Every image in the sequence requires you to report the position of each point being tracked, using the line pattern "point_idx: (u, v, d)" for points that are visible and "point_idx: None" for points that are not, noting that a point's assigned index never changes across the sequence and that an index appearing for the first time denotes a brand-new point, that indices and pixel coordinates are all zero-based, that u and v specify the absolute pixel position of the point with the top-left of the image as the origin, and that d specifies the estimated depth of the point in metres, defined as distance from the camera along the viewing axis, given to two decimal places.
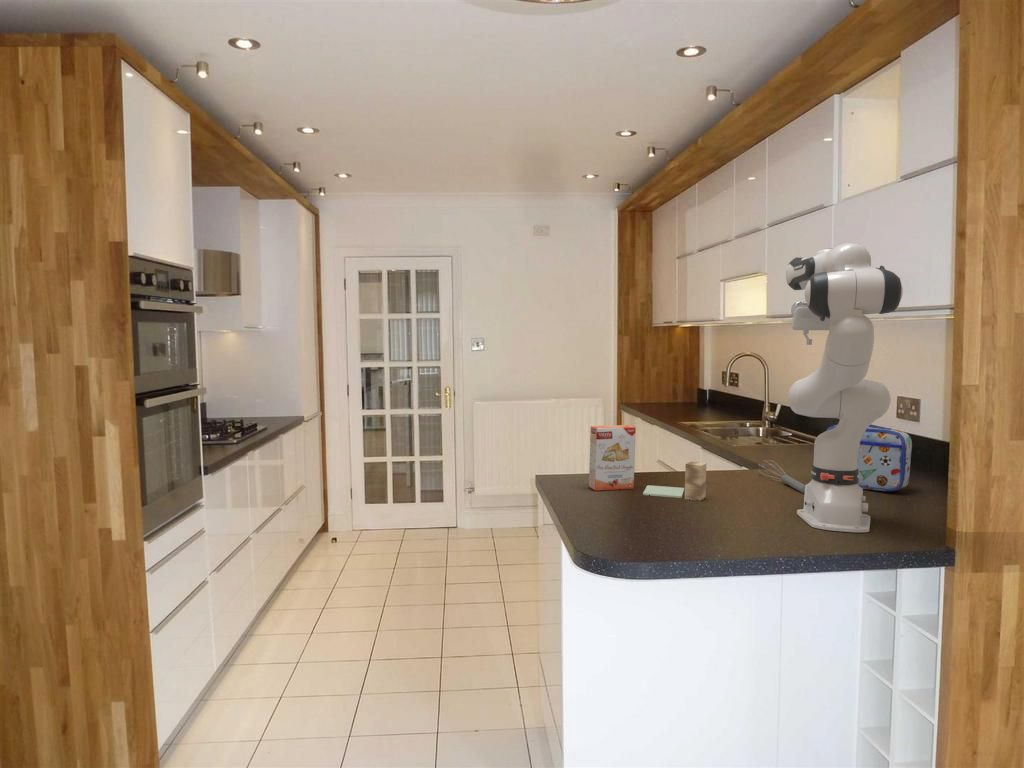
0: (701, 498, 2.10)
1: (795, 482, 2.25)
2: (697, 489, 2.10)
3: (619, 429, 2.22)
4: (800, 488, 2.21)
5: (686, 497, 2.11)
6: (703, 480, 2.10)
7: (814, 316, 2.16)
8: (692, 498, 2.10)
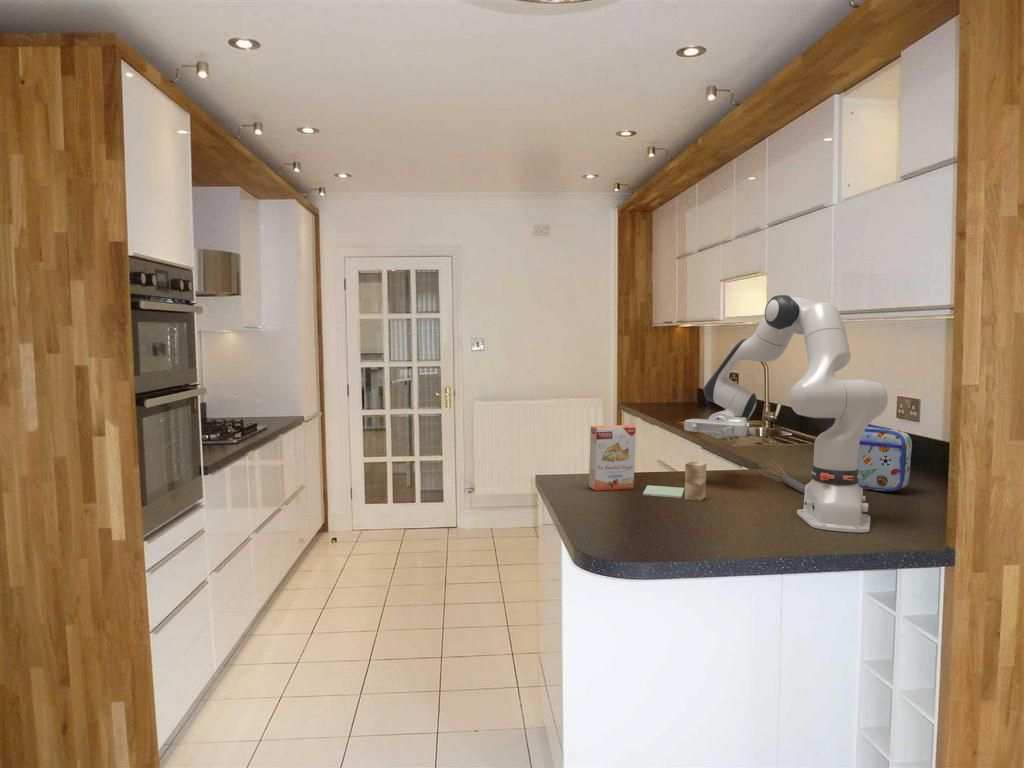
0: (701, 498, 2.10)
1: (795, 482, 2.25)
2: (697, 489, 2.10)
3: (619, 429, 2.22)
4: (800, 488, 2.21)
5: (686, 497, 2.11)
6: (703, 479, 2.10)
7: (706, 421, 2.31)
8: (692, 498, 2.10)
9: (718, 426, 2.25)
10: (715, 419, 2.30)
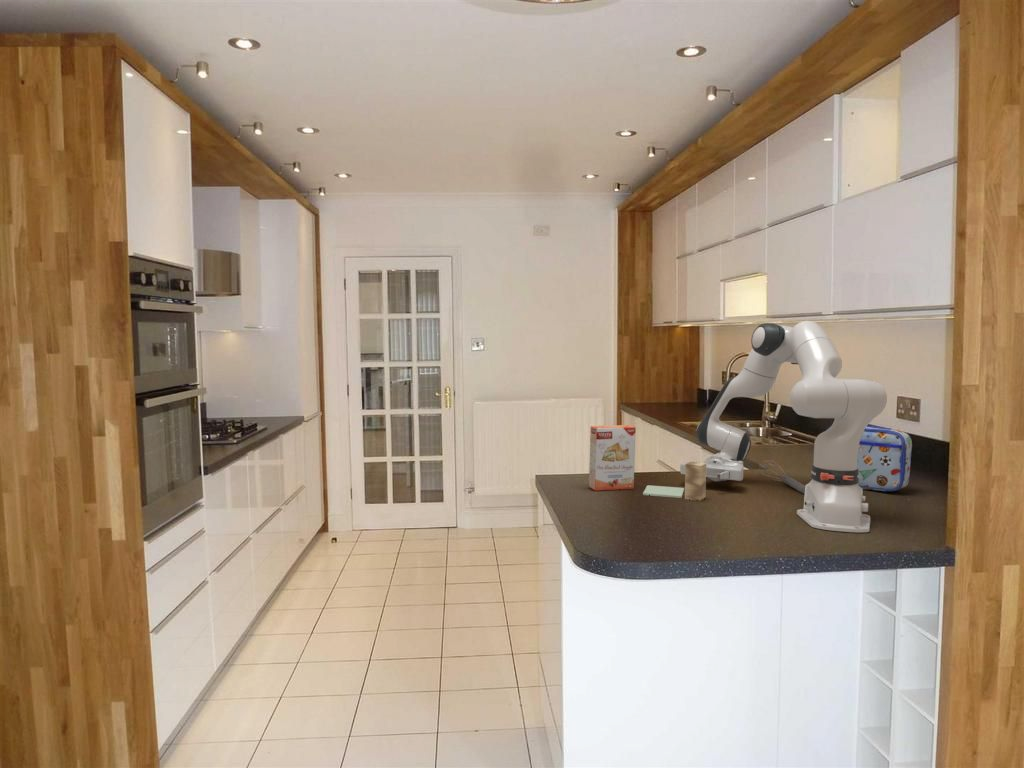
0: (701, 498, 2.10)
1: (795, 482, 2.25)
2: (697, 489, 2.10)
3: (619, 429, 2.22)
4: (800, 488, 2.21)
5: (686, 497, 2.11)
6: (703, 480, 2.10)
7: None
8: (692, 498, 2.10)
9: (714, 470, 2.23)
10: (711, 462, 2.29)
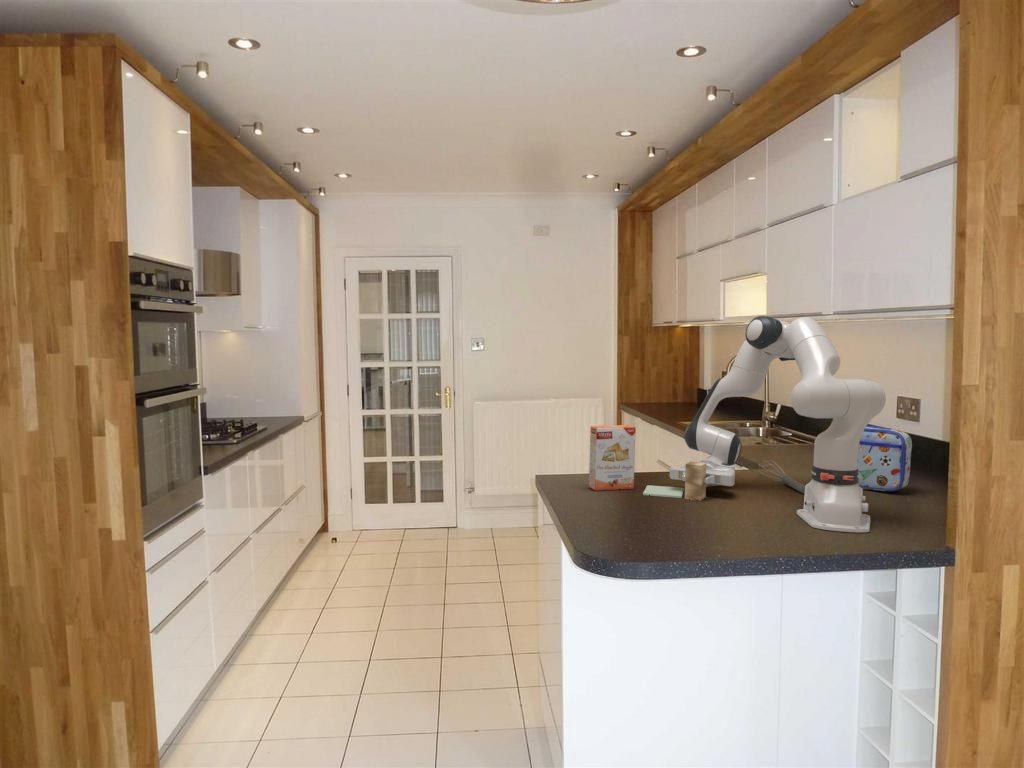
0: (701, 498, 2.10)
1: (794, 482, 2.25)
2: (697, 489, 2.10)
3: (619, 429, 2.22)
4: (799, 488, 2.21)
5: (686, 497, 2.11)
6: None
7: None
8: (692, 498, 2.10)
9: None
10: None
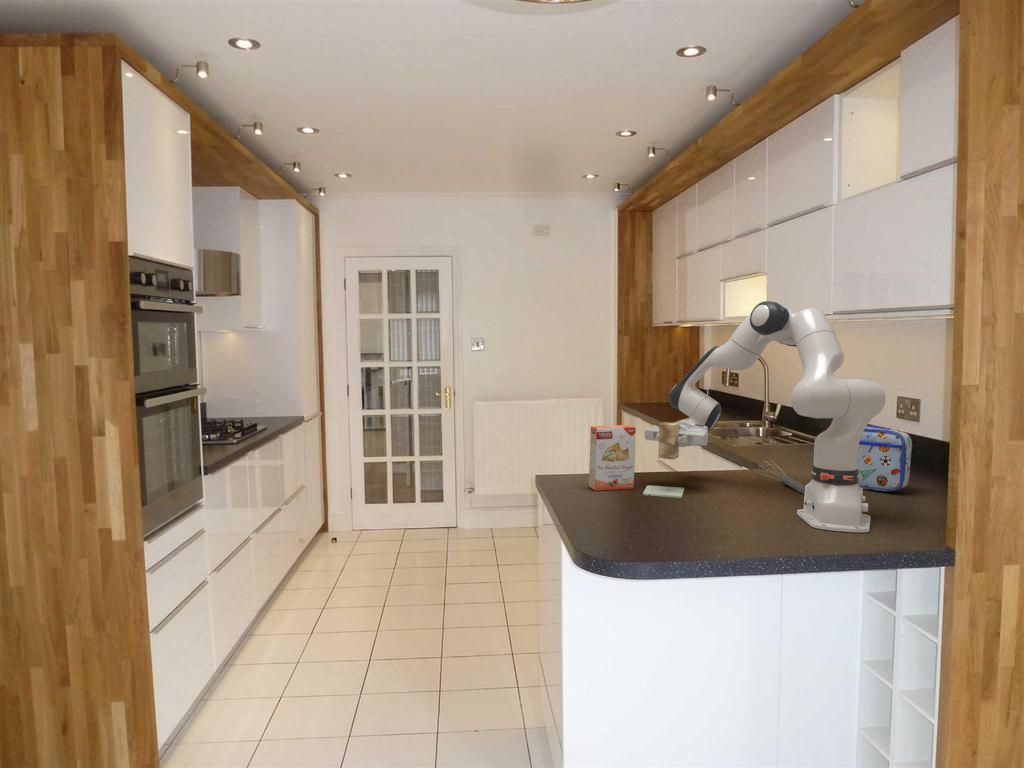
0: (674, 457, 2.17)
1: (794, 482, 2.25)
2: (669, 448, 2.16)
3: (619, 429, 2.22)
4: (799, 488, 2.20)
5: (659, 456, 2.18)
6: (675, 439, 2.17)
7: None
8: (665, 457, 2.17)
9: None
10: None
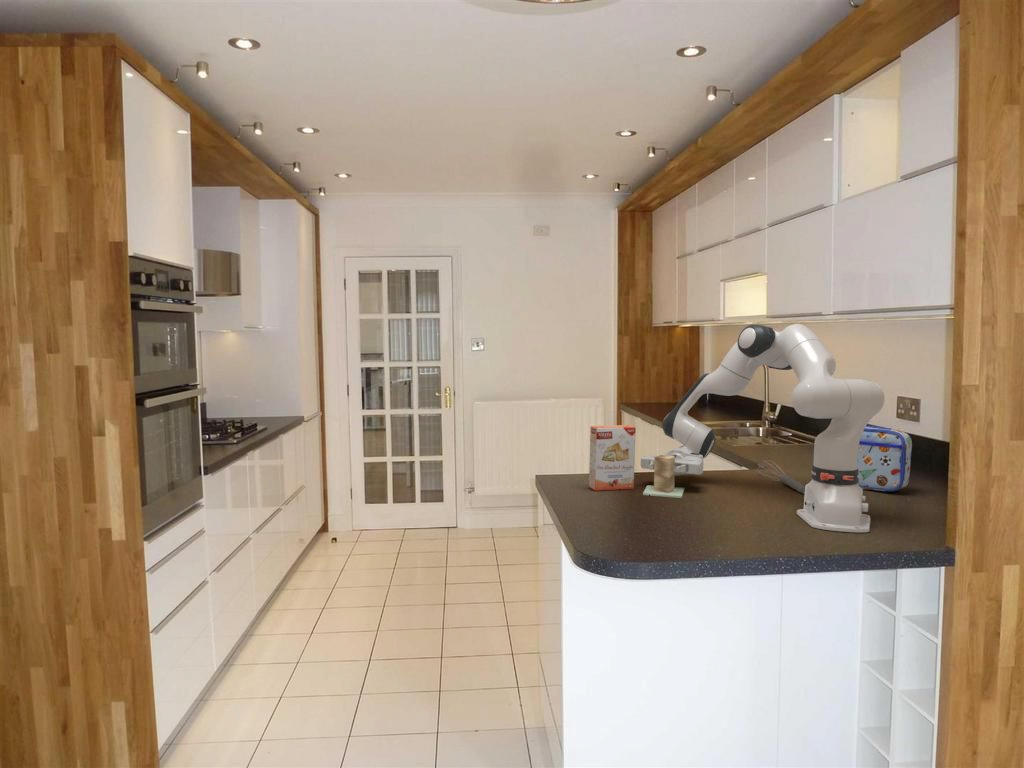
0: (669, 490, 2.18)
1: (794, 482, 2.25)
2: (665, 482, 2.17)
3: (619, 429, 2.22)
4: (799, 488, 2.20)
5: (655, 489, 2.19)
6: (671, 472, 2.18)
7: None
8: (661, 490, 2.18)
9: None
10: None
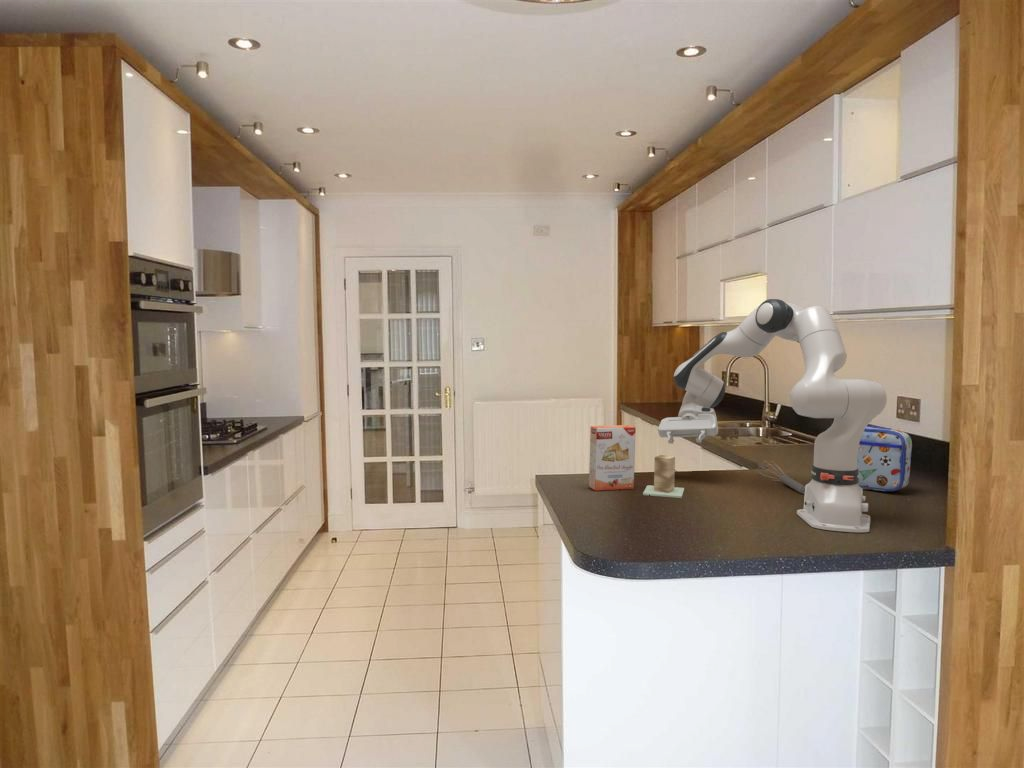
0: (669, 490, 2.18)
1: (794, 482, 2.25)
2: (665, 482, 2.17)
3: (619, 429, 2.22)
4: (798, 488, 2.20)
5: (655, 489, 2.19)
6: (671, 472, 2.18)
7: (677, 422, 2.38)
8: (661, 490, 2.18)
9: (691, 430, 2.33)
10: (685, 417, 2.37)
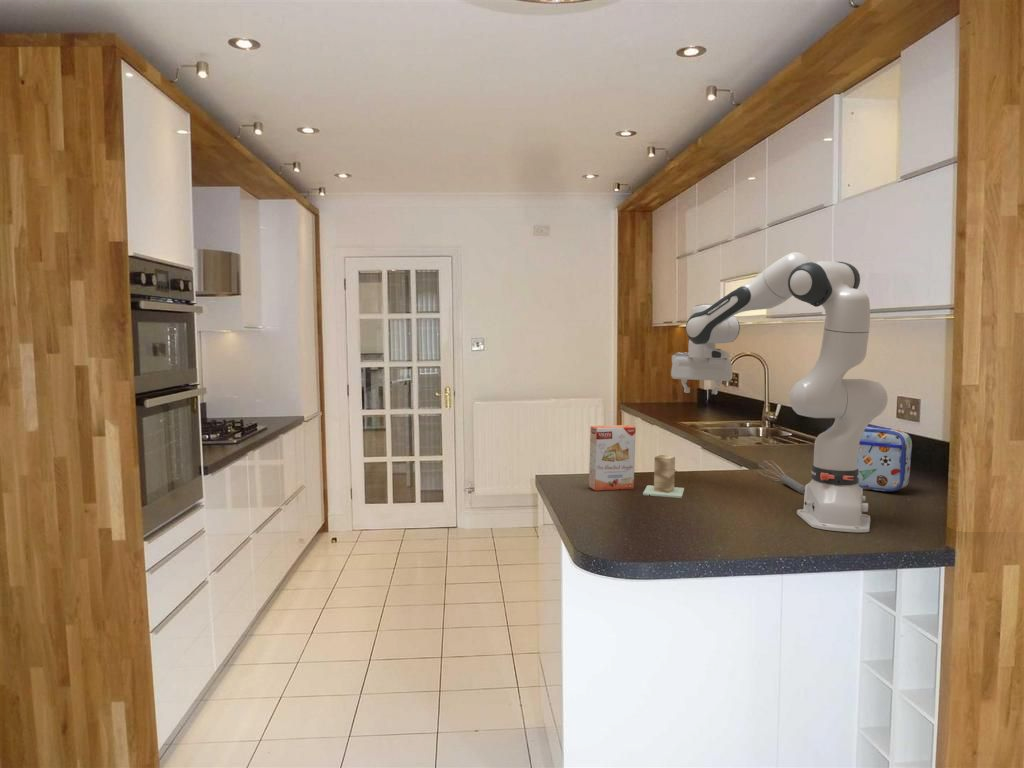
0: (669, 490, 2.18)
1: (793, 482, 2.24)
2: (665, 482, 2.17)
3: (619, 429, 2.22)
4: (798, 488, 2.20)
5: (655, 489, 2.19)
6: (671, 472, 2.18)
7: (689, 366, 2.31)
8: (661, 490, 2.18)
9: None
10: (696, 362, 2.29)
